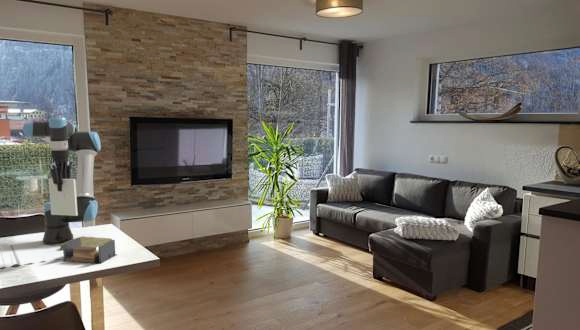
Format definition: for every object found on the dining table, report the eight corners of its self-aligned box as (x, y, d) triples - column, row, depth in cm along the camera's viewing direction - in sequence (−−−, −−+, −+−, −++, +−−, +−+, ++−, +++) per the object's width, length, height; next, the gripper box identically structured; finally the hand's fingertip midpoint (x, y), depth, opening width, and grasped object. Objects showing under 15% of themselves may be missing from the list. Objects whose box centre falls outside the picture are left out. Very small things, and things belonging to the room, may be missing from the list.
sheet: (52, 214, 212) (50, 178, 210) (77, 215, 209) (75, 179, 207) (51, 214, 211) (48, 178, 208) (76, 215, 208) (73, 179, 206)
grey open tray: (81, 241, 240) (80, 235, 240) (112, 243, 236) (112, 237, 236) (56, 251, 222) (56, 245, 222) (90, 254, 218) (90, 247, 218)
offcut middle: (80, 253, 206) (80, 249, 206) (100, 255, 204) (100, 251, 203) (73, 256, 201) (73, 252, 201) (94, 258, 199) (93, 254, 199)
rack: (82, 255, 215) (81, 236, 214) (118, 257, 211) (117, 238, 210) (62, 264, 201) (61, 244, 200) (100, 267, 197) (98, 247, 196)
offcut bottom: (79, 257, 206) (78, 253, 206) (101, 258, 204) (100, 254, 204) (71, 261, 201) (71, 256, 201) (94, 262, 199) (93, 258, 199)
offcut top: (79, 249, 205) (79, 245, 205) (96, 250, 204) (96, 246, 203) (73, 252, 201) (73, 248, 201) (90, 253, 199) (90, 249, 199)
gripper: (55, 150, 198) (59, 200, 201) (76, 148, 212) (79, 194, 215) (41, 150, 200) (45, 199, 203) (63, 148, 214) (66, 194, 216)
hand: (63, 197), depth 209 cm, fingers closed on sheet
